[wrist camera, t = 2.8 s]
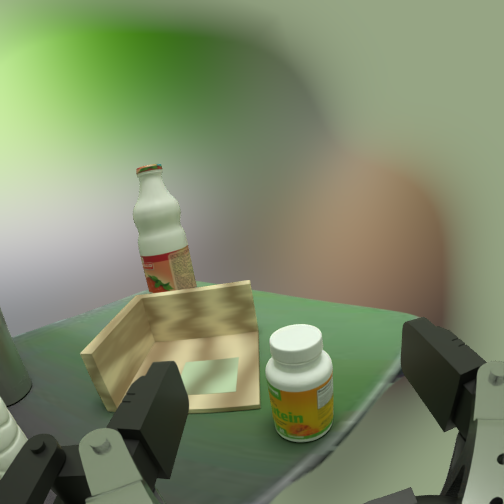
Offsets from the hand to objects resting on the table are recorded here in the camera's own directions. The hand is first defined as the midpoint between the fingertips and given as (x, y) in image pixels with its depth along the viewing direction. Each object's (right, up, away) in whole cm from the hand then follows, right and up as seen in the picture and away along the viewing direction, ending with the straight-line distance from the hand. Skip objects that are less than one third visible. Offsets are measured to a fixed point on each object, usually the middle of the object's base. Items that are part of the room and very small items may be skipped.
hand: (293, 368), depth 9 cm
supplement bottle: (+3, -12, +14) cm, 19 cm away
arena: (-9, -11, +26) cm, 30 cm away
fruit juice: (-16, -7, +48) cm, 52 cm away
